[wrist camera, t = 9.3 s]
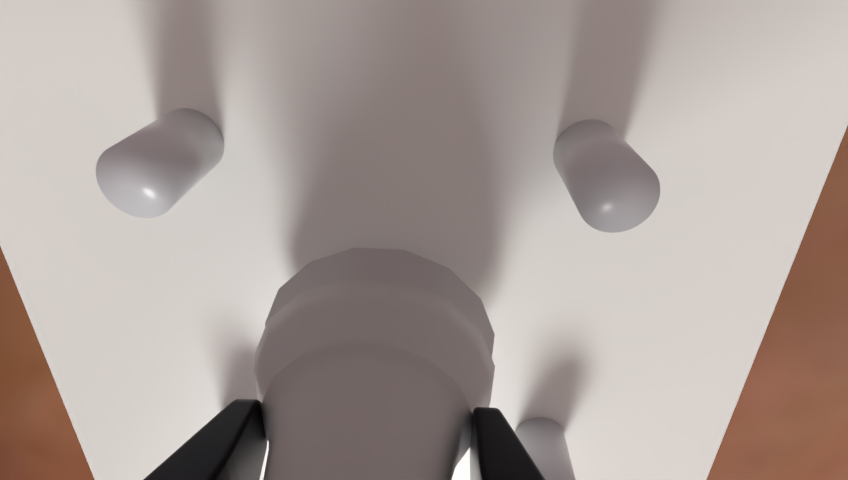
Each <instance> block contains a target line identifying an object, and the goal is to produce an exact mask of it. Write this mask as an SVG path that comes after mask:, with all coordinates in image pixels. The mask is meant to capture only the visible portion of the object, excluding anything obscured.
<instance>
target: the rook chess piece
mask: <svg viewBox="0 0 848 480" xmlns="http://www.w3.org/2000/svg"><path fill="white" fill-rule="evenodd" d="M494 337H495V334H494V331H493V329H492V326H491V324H490V321H489V318H488V316H487V313H486V311H485V308H484V305H483V303H482V300H481V298H480V297H479V296H478V295H477V294H475V293H474V292H473V291H472V290H471V289H470V288H469V287H468V286H467V285H466V284H465V283H464V282H463V281H462V280H461V279H460V278H459V277H458V276H457V275H456V274H455V273H454V272H453V271H452V270H451V269H450V268H447V267H445V266H443V265H440V264H438V263H435V262H433V261H430V260H428V259H426V258H423V257H421V256H418V255H416V254H413V253H411V252H409V251H406V250H399V249H377V248H356V247H354V248H351V249H348V250H345V251H342V252H339V253H336V254H332V255H329V256H326V257H323V258H320V259H317V260H314V261H311V262H309V263H308V264H307V265H306V266H304V267H303V268H302V269H301V270H300V271H299V272H298V273H296V274H295V275H294V276H293V277H292V278H291V279H290V280H288V281H287V282H286V283H285V284H284V285H283V286H281V287H280V288H279V289H278V292H277V294H276V297H275V299H274V302H273V304H272V307H271V309H270V312H269V314H268V317H267V320H266V322H265V329H264V332H263V334H262V337H261V339H260V342H259V345H258V347H257V350H256V352H255V355H254V376H255V383H256V390H257V397H258V400H259V401H260V402H261V403H262V404H261V413H262V419H263V425H264V431H265V437H266V439H267V440H268V442H269V450H268V456H267V462H266V467H265V473H264V478H263V480H452V477H453V474H454V470H455V467H456V466H457V464H458V463H459V462H460V460H461V459H462V457H463V456H464V455H465V453H466V452H467V451H468V449H469V448H470V443H471V432H472V420H473V410H474V408H476V407H489V405H490V402H491V394H492V386H493V379H494V371H495V365H494V362H493V360H492V353H493V345H494Z"/></svg>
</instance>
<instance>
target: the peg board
mask: <svg viewBox="0 0 848 480" xmlns="http://www.w3.org/2000/svg"><path fill="white" fill-rule="evenodd" d="M847 125H848V0H0V246H1V249H2V251H3V254H4V256H5V259H6V261H7V263H8V266H9V268H10V271H11V273H12V276H13V278H14V281H15V283H16V286H17V288H18V291H19V293H20V296H21V298H22V301H23V303H24V306H25V308H26V311H27V313H28V316H29V318H30V320H31V323H32V325H33V328H34V330H35V333H36V335H37V338H38V340H39V343H40V345H41V348H42V350H43V353H44V355H45V358H46V360H47V363H48V365H49V368H50V370H51V372H52V375H53V377H54V380H55V382H56V385H57V387H58V390H59V392H60V395H61V397H62V400H63V402H64V405H65V407H66V410H67V412H68V415H69V417H70V420H71V422H72V424H73V427H74V429H75V432H76V434H77V437H78V439H79V442H80V444H81V447H82V449H83V452H84V454H85V457H86V459H87V462H88V464H89V467H90V469H91V472H92V474H93V476H94V479H95V480H143V479H144V478H146V477H147V476H148V475H149V474H150V473H151V472H152V471H153V470H155V469H156V468H157V467H158V466H159V465H160V464H161V463H163V462H164V461H165V460H166V459H167V458H168V457H169V456H170V455H172V454H173V453H174V452H175V451H176V450H177V449H178V448H180V447H181V446H182V445H183V444H184V443H185V442H186V441H187V440H189V439H190V438H191V437H192V436H193V435H194V434H195V433H197V432H198V431H199V430H200V429H201V428H202V427H203V426H204V425H206V424H207V423H208V422H209V421H210V420H211V419H212V418H214V417H215V416H216V415H217V414H218V413H219V412H220V411H221V410H223V409H224V408H225V407H226V406H227V405H228V404H229V403H231V402H232V401H234V400H235V399H257V400H258V397H257V390H256V383H255V376H254V355H255V352H256V350H257V347H258V345H259V342H260V339H261V337H262V334H263V332H264V329H265V322H266V320H267V317H268V314H269V312H270V309H271V307H272V304H273V302H274V299H275V297H276V294H277V292H278V289H279V288H280V287H281V286H283V285H284V284H285V283H286V282H287V281H288V280H290V279H291V278H292V277H293V276H294V275H295V274H296V273H298V272H299V271H300V270H301V269H302V268H303V267H304V266H306V265H307V264H308V263H309V262H311V261H314V260H317V259H320V258H323V257H326V256H329V255H332V254H336V253H339V252H342V251H345V250H348V249H351V248H354V247H356V248H377V249H399V250H406V251H409V252H411V253H413V254H416V255H418V256H421V257H423V258H426V259H428V260H430V261H433V262H435V263H438V264H440V265H443V266H445V267H447V268H450V269H451V270H452V271H453V272H454V273H455V274H456V275H457V276H458V277H459V278H460V279H461V280H462V281H463V282H464V283H465V284H466V285H467V286H468V287H469V288H470V289H471V290H472V291H473V292H474V293H475V294H477V295H478V296H479V297H480V298H481V300H482V303H483V305H484V308H485V311H486V313H487V316H488V318H489V321H490V324H491V326H492V329H493V331H494V334H495V337H494V345H493V353H492V360H493V362H494V365H495V371H494V379H493V386H492V394H491V402H490V405H489V407H491V408H498V409H499V410H500V411H501V412H502V414H503V415H504V417H505V418H506V420H507V421H508V423H509V424H510V426H511V427H512V429H513V430H514V432H515V434H516V435H517V437H518V438H519V440H520V441H521V443H522V444H523V446H524V447H525V449H526V450H527V452H528V453H529V455H530V456H531V458H532V459H533V461H534V463H535V464H536V466H537V467H538V469H539V470H540V472H541V473H542V475H543V476H544V478H545V479H546V480H706V479H707V476H708V474H709V471H710V469H711V466H712V464H713V461H714V459H715V456H716V454H717V451H718V449H719V446H720V444H721V441H722V439H723V436H724V434H725V431H726V429H727V426H728V424H729V421H730V419H731V416H732V414H733V411H734V409H735V406H736V404H737V401H738V399H739V396H740V394H741V391H742V389H743V386H744V384H745V381H746V379H747V376H748V374H749V371H750V369H751V366H752V364H753V361H754V359H755V356H756V354H757V351H758V349H759V346H760V343H761V341H762V338H763V336H764V333H765V331H766V328H767V326H768V323H769V321H770V318H771V316H772V313H773V311H774V308H775V306H776V303H777V301H778V298H779V296H780V293H781V291H782V288H783V286H784V283H785V281H786V278H787V276H788V273H789V271H790V268H791V266H792V263H793V261H794V258H795V256H796V253H797V251H798V248H799V246H800V243H801V241H802V238H803V236H804V233H805V231H806V228H807V226H808V223H809V221H810V218H811V216H812V213H813V211H814V208H815V206H816V203H817V201H818V198H819V196H820V193H821V191H822V188H823V185H824V183H825V180H826V178H827V175H828V173H829V170H830V168H831V165H832V163H833V160H834V158H835V155H836V153H837V150H838V148H839V145H840V143H841V140H842V138H843V135H844V133H845V130H846V128H847ZM268 450H269V442H268V440H267V449H266V454H265V458H264V462H263V467H262V471H261V475H260V480H263V478H264V473H265V467H266V462H267V456H268ZM452 480H470V448H469V449H468V451H467V452H466V453H465V455H464V456H463V457H462V459H461V460H460V462H459V463H458V464H457V466H456V467H455V470H454V474H453V477H452Z"/></svg>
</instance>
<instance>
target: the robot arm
mask: <svg viewBox="0 0 848 480" xmlns="http://www.w3.org/2000/svg"><path fill="white" fill-rule="evenodd" d="M261 404H262V403H261V402H260V401H259V400H257V399H235V400H234V401H232V402H231V403H229V404H228V405H227V406H226V407H225V408H224V409H223V410H221V411H220V412H219V413H218V414H217V415H216V416H215V417H214V418H212V419H211V420H210V421H209V422H208V423H207V424H206V425H204V426H203V427H202V428H201V429H200V430H199V431H198V432H197V433H195V434H194V435H193V436H192V437H191V438H190V439H189V440H187V441H186V442H185V443H184V444H183V445H182V446H181V447H180V448H178V449H177V450H176V451H175V452H174V453H173V454H172V455H170V456H169V457H168V458H167V459H166V460H165V461H164V462H163V463H161V464H160V465H159V466H158V467H157V468H156V469H155V470H153V471H152V472H151V473H150V474H149V475H148V476H147V477H146V478H144V479H143V480H260V475H261V471H262V467H263V462H264V458H265V454H266V449H267V439H266V437H265V431H264V425H263V419H262V413H261ZM470 480H546V479H545V478H544V476H543V475H542V473H541V472H540V470H539V469H538V467H537V466H536V464H535V463H534V461H533V459H532V458H531V456H530V455H529V453H528V452H527V450H526V449H525V447H524V446H523V444H522V443H521V441H520V440H519V438H518V437H517V435H516V434H515V432H514V430H513V429H512V427H511V426H510V424H509V423H508V421H507V420H506V418H505V417H504V415H503V414H502V412H501V411H500V410H499V409H498V408H491V407H476V408H474V410H473V420H472V432H471V443H470Z"/></svg>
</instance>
